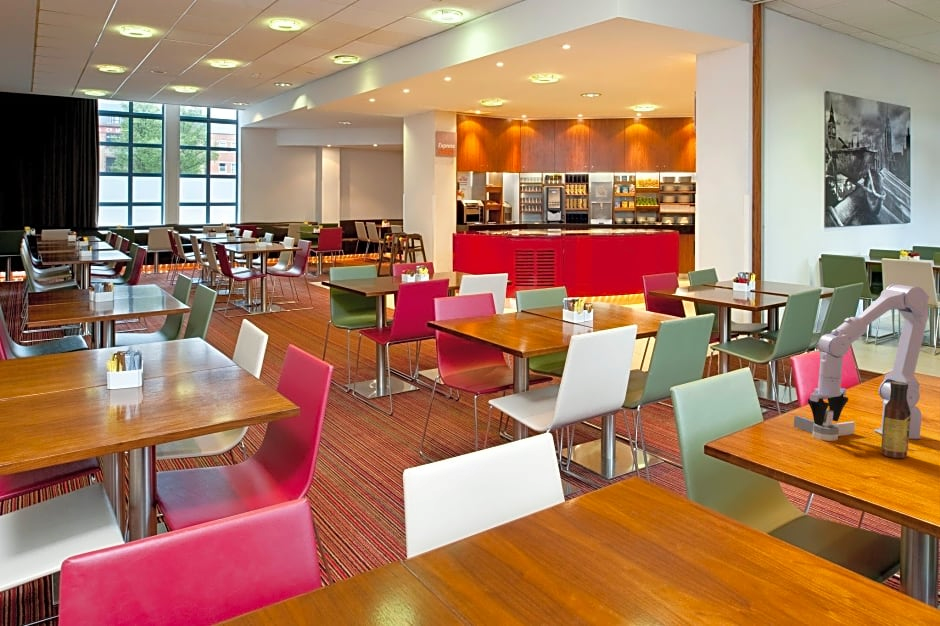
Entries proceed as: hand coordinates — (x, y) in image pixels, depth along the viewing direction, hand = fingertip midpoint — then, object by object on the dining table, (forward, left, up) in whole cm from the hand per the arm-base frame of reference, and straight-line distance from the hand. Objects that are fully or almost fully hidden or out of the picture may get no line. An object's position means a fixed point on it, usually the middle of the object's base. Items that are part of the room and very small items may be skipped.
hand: (826, 422), depth 209 cm
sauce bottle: (-10, +16, -5) cm, 19 cm away
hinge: (-2, -5, -4) cm, 7 cm away
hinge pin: (0, 0, -4) cm, 4 cm away
